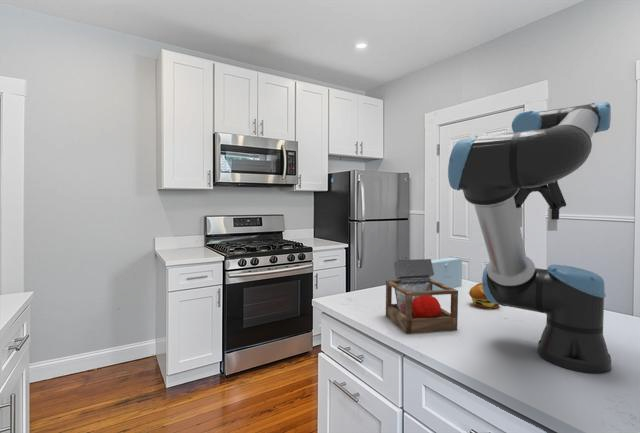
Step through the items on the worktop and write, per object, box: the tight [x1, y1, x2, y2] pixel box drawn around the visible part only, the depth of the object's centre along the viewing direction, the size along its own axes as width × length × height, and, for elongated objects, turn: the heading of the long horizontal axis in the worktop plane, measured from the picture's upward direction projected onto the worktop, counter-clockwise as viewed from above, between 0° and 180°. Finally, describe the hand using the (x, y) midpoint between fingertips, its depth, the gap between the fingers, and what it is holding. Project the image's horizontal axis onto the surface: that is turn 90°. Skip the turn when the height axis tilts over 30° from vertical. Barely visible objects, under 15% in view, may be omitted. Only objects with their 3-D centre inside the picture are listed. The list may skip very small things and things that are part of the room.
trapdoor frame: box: [385, 279, 459, 335], centre depth 114 cm, size 17×17×12 cm
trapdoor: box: [393, 258, 434, 319], centre depth 116 cm, size 19×13×6 cm
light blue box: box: [429, 257, 463, 291], centre depth 159 cm, size 23×6×13 cm, turn 122°
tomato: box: [412, 295, 442, 318], centre depth 111 cm, size 9×9×8 cm
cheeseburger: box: [468, 282, 500, 310], centre depth 132 cm, size 10×11×10 cm
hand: (533, 228), depth 109 cm, fingers open, 13 cm apart
